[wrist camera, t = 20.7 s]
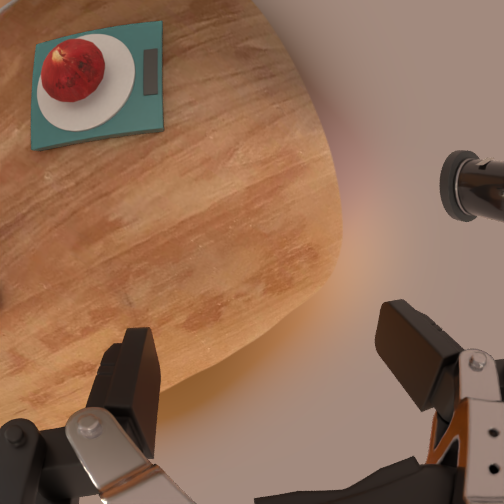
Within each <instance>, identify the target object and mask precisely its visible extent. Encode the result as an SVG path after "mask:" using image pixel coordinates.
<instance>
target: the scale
mask: <svg viewBox="0 0 504 504" xmlns="http://www.w3.org/2000/svg"><path fill="white" fill-rule="evenodd" d="M79 38H80V39H84V40H87V41H90V42H93V43H94V44H95V45H96V46H97V47H98V48H99V49H100V51H101V52H102V55H103V58H104V61H105V71H104V76H103V80H102V81H101V83H100V84H99V86H98V87H97V89H96V90H95V91H94V92H93V93H91V94H90V95H89V96H87V97H86V98H85V99H82V100H79V101H76V102H60V101H58V100H56V99H53V98H51V97H50V96H49V95H48V93H47V92H46V91H45V89H44V88H43V86H42V80H41V70H42V66H43V62H44V60H45V58H46V57H47V55H48V54H49V52H50V51H51V50H52V49H53V48H54V47H56V46H57V45H58V44H60V43H62V42H64V41H66V40H68V39H79ZM162 41H163V23H162V21H154V22H145V23H136V24H128V25H121V26H115V27H109V28H103V29H98V30H93V31H88V32H83V33H78V34H74V35H70V36H66V37H62V38H58V39H54V40H50V41H47V42H43V43H40V44H37V45H36V50H35V59H34V69H33V81H32V97H31V150H35V151H43V150H48V149H52V148H57V147H62V146H67V145H72V144H78V143H83V142H89V141H95V140H101V139H107V138H114V137H121V136H128V135H136V134H145V133H153V132H163V131H164V120H163V81H162Z"/></svg>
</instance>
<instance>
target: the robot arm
mask: <svg viewBox="0 0 504 504" xmlns="http://www.w3.org/2000/svg"><path fill="white" fill-rule="evenodd" d="M492 159H493V158H486V159H484V160H480V159H473V158H466V159H464V160H462V161H461V162H460V163H459V165H458V167H457V169H456V171H455V175H454V181H453V192H454V198H455V202H456V204H457V206H458V208H459V209H460V211H461V212H463V213H464V214H467V215H475V216H480V217H483V218H487V219H491V220H496V221H500V222H504V161H493V160H492ZM375 346H376V350H377V353H378V354H379V356H380V357H381V358H382V360H383V361H384V362H385V363H386V365H387V366H388V368H389V369H390V370H391V371H392V373H393V374H394V375H395V377H396V378H397V380H398V381H399V382H400V384H401V385H402V386H403V388H404V389H405V390H406V392H407V393H408V394H409V396H410V397H411V398H412V400H413V401H414V402H415V404H416V405H417V407H418V408H419V409H420V411H421V412H423V411H425V410H428V409H430V408H433V407H434V408H435V409H436V411H435V413H434V415H433V421H432V430H431V437H430V444H429V450H428V456H427V460H426V463H425V464H421V465H419V463H418V462H417V460H416V458H415V457H414V456H412V457H410V458H408V459H405V460H402V461H399V462H397V463H394V464H392V465H389V466H386V467H383V468H380V469H379V470H377V471H376V472H374V473H372V474H371V475H369V476H367V477H366V478H364V479H363V480H361V481H359V482H357V483H356V484H354V485H352V486H350V487H349V488H346V489H343V490H327V491H296V492H290V493H285V494H280V495H273V496H267V497H260V498H254V504H504V359H500V360H494V359H493V357H491V355H489V354H488V353H486V352H484V351H482V350H478V349H467V350H464V349H463V348H462V347H461V346H460V345H459V344H458V343H457V342H455V341H454V340H453V339H452V338H451V337H450V336H449V335H448V334H447V333H446V332H445V331H442V329H441V328H440V327H439V326H438V325H436V324H435V322H434V321H433V320H432V319H430V318H429V317H428V316H427V315H425V314H423V313H421V312H419V311H417V310H415V309H414V308H413V307H411V306H410V305H409V304H408V303H407V302H406V301H405V300H402V299H400V300H394V301H388V302H384V303H383V304H382V306H381V309H380V315H379V321H378V326H377V330H376V335H375ZM100 365H101V366H99V369H98V372H97V375H96V377H95V380H94V383H93V386H92V389H91V392H90V395H89V398H88V401H87V404H86V407H85V408H83V409H81V410H79V411H77V412H75V413H74V414H73V415H72V416H71V417H70V418H69V419H68V421H67V423H66V426H65V427H61V428H55V429H49V430H42V431H39V430H38V429H37V427H36V426H35V424H34V423H33V422H31V421H30V420H27V419H23V418H18V419H13V420H11V421H9V422H7V423H5V424H4V425H3V426H2V427H1V428H0V504H79V497H83V496H90V495H96V494H99V496H100V498H101V499H102V501H103V502H104V504H196V503H195V502H194V501H193V500H192V499H191V498H190V497H189V496H188V495H187V494H186V493H185V492H184V491H183V490H182V489H181V488H180V487H179V486H178V485H177V484H176V483H175V482H174V481H173V480H172V479H171V478H170V477H169V476H168V475H167V474H166V473H165V472H164V471H163V470H162V469H161V468H160V467H159V466H158V465H156V464H154V465H153V464H152V463H151V462H150V461H149V460H148V459H154V448H155V435H156V423H157V412H158V402H159V392H160V383H161V373H160V365H159V361H158V357H157V353H156V348H155V344H154V339H153V335H152V331H151V328H150V327H140V328H127V330H126V333H125V336H124V339H123V342H122V343H114V344H113V345H112V346H111V347H110V348H109V349H108V350H107V351H106V352H105V353H104V355H103V358H102V361H101V363H100Z"/></svg>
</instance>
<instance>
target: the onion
mask: <svg viewBox="0 0 504 504" xmlns="http://www.w3.org/2000/svg"><path fill="white" fill-rule="evenodd" d="M104 71H105V61H104V58H103V55H102V52H101V51H100V49H99V48H98V47H97V46H96V45H95V44H94V43H93V42H90V41H87V40H84V39H80V38H79V39H68V40H66V41H64V42H62V43H60V44H58V45H57V46H56V47H54V48H53V49H52V50H51V51H50V52H49V54H48V55H47V57H46V58H45V60H44V62H43V66H42V70H41V80H42V86H43V88H44V89H45V91H46V92H47V93H48V95H49V96H50V97H51V98H53V99H56V100H58V101H60V102H76V101H79V100H82V99H85V98H86V97H87V96H89V95H90V94H91V93H93V92H94V91H95V90H96V89H97V87H98V86H99V84H100V83H101V81H102V80H103V76H104Z"/></svg>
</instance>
